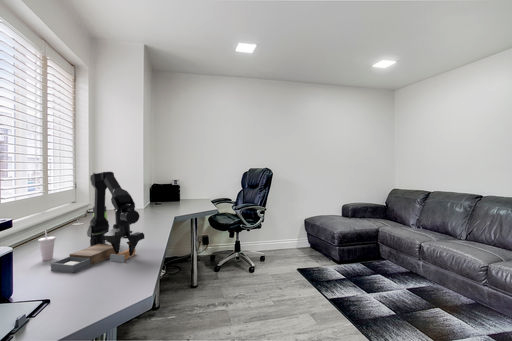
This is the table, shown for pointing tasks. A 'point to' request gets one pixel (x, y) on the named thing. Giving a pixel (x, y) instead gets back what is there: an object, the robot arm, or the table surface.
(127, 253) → the scraper
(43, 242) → the smoothie
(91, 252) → the tan block
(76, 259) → the box
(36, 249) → the table surface
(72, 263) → the tile
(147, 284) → the table surface
